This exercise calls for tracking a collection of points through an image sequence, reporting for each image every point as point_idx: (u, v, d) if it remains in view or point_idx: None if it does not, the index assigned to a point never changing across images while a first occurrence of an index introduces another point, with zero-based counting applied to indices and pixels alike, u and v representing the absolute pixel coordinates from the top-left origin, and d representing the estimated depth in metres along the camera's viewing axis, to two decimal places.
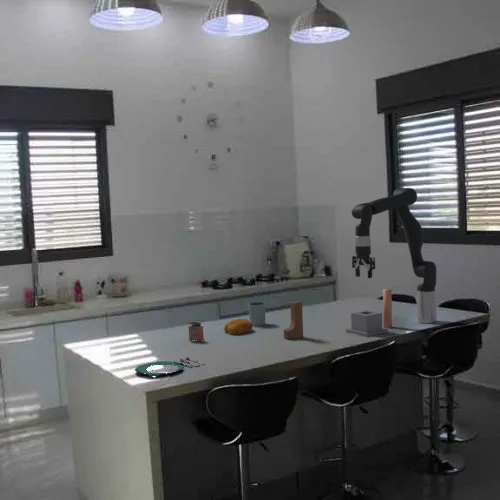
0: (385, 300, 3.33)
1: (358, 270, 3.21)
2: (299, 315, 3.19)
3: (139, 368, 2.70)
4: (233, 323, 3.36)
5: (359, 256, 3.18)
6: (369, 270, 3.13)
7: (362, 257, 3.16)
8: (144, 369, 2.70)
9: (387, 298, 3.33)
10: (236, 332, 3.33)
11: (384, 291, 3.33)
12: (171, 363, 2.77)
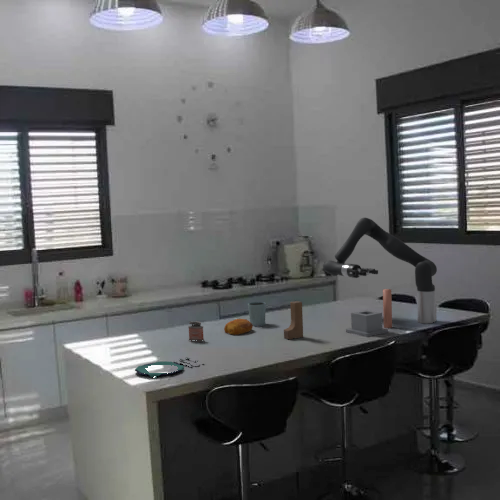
0: (385, 300, 3.33)
1: (373, 271, 3.48)
2: (299, 315, 3.19)
3: (139, 368, 2.69)
4: (233, 323, 3.36)
5: None
6: (359, 275, 3.43)
7: None
8: (144, 369, 2.69)
9: (387, 298, 3.33)
10: (236, 332, 3.33)
11: (384, 291, 3.33)
12: (171, 363, 2.77)
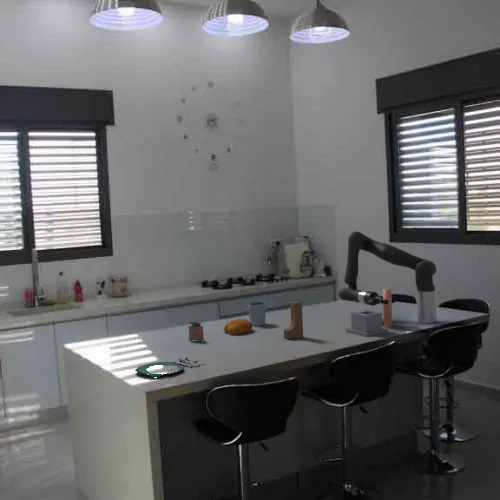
0: None
1: None
2: (299, 315, 3.19)
3: (139, 369, 2.69)
4: (233, 323, 3.35)
5: None
6: (381, 303, 3.34)
7: None
8: (145, 370, 2.69)
9: (387, 298, 3.33)
10: (236, 332, 3.33)
11: (384, 291, 3.33)
12: (171, 363, 2.76)
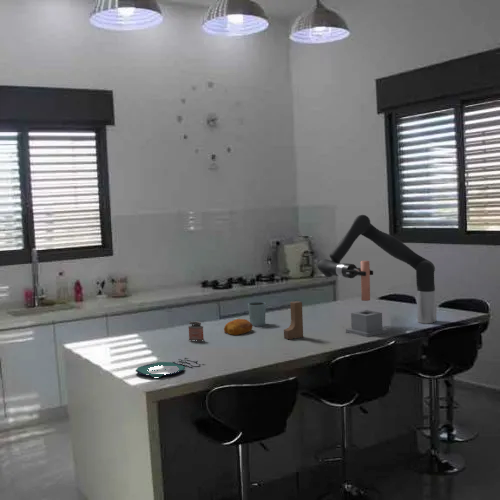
0: None
1: None
2: (299, 315, 3.19)
3: (140, 369, 2.68)
4: (233, 323, 3.35)
5: None
6: (358, 275, 3.23)
7: None
8: (145, 370, 2.68)
9: (364, 270, 3.22)
10: (236, 332, 3.32)
11: (362, 262, 3.22)
12: (171, 364, 2.76)
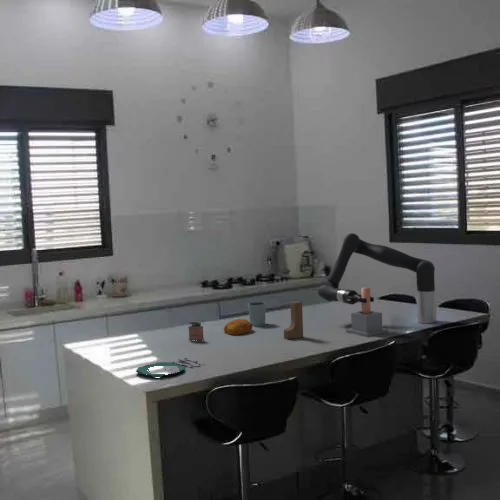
0: None
1: None
2: (299, 315, 3.19)
3: (140, 369, 2.68)
4: (233, 323, 3.35)
5: None
6: (359, 301, 3.24)
7: None
8: (145, 370, 2.68)
9: (365, 297, 3.23)
10: (235, 332, 3.32)
11: (362, 289, 3.23)
12: (171, 364, 2.76)
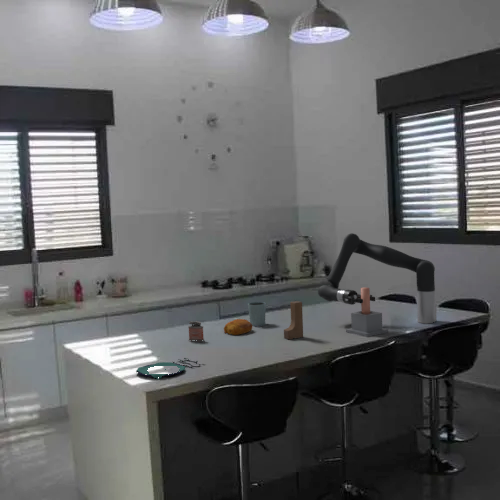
0: (363, 299, 3.24)
1: None
2: (299, 315, 3.19)
3: (140, 370, 2.67)
4: (232, 323, 3.35)
5: None
6: (355, 302, 3.24)
7: None
8: (145, 371, 2.67)
9: (364, 297, 3.23)
10: (235, 332, 3.32)
11: (362, 289, 3.24)
12: (171, 364, 2.75)
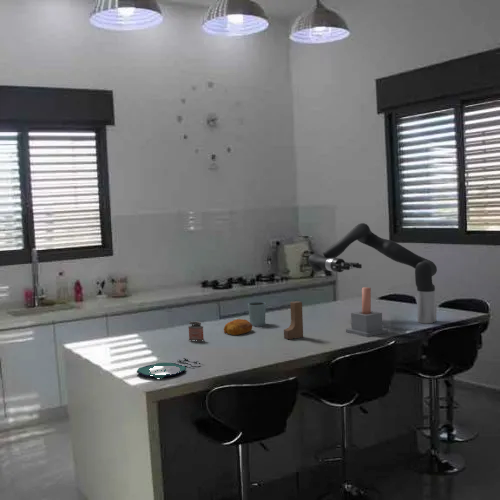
0: (364, 299, 3.24)
1: (356, 265, 3.44)
2: (299, 315, 3.19)
3: (141, 370, 2.66)
4: (232, 323, 3.35)
5: None
6: (343, 269, 3.40)
7: None
8: (146, 371, 2.67)
9: (365, 297, 3.23)
10: (235, 333, 3.32)
11: (363, 289, 3.24)
12: (171, 364, 2.75)
